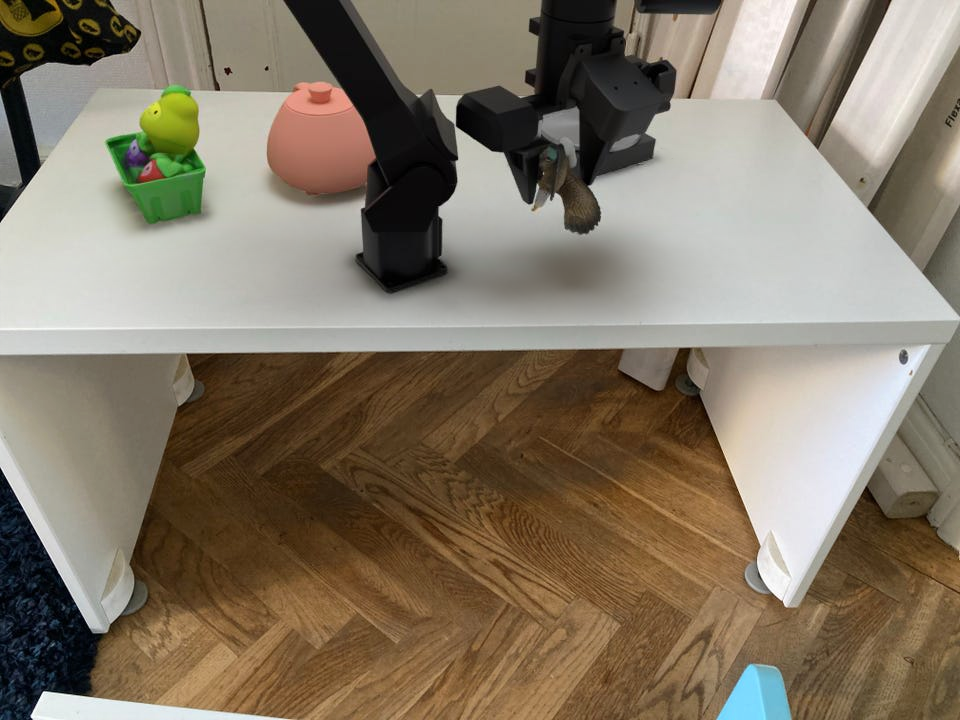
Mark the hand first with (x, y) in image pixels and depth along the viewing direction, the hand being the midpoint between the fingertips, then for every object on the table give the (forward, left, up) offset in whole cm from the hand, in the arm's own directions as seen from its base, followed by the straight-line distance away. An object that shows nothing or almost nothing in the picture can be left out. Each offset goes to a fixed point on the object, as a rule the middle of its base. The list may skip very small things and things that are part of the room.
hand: (557, 193), depth 73 cm
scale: (+19, +17, -8) cm, 27 cm away
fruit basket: (-26, +30, -8) cm, 41 cm away
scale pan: (+19, +17, -5) cm, 26 cm away
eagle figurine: (0, 0, -2) cm, 2 cm away
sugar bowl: (-10, +27, -8) cm, 30 cm away
